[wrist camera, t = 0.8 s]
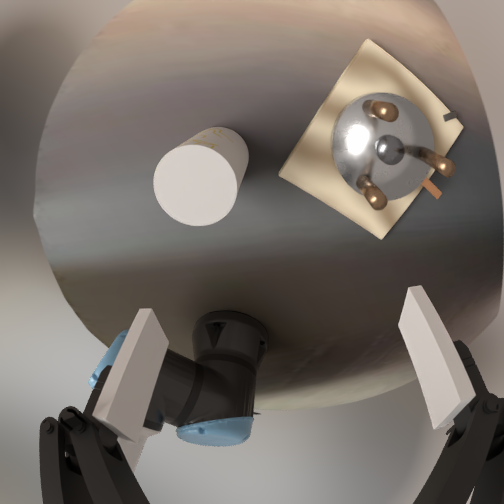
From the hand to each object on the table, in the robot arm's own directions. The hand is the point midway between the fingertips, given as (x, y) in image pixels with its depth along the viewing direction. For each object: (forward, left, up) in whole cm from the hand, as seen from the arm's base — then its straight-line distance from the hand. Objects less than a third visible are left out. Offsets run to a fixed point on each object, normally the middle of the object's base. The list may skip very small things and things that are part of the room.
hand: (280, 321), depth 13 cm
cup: (-2, +8, -26) cm, 28 cm away
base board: (+11, -9, -26) cm, 30 cm away
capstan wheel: (+11, -11, -24) cm, 29 cm away
